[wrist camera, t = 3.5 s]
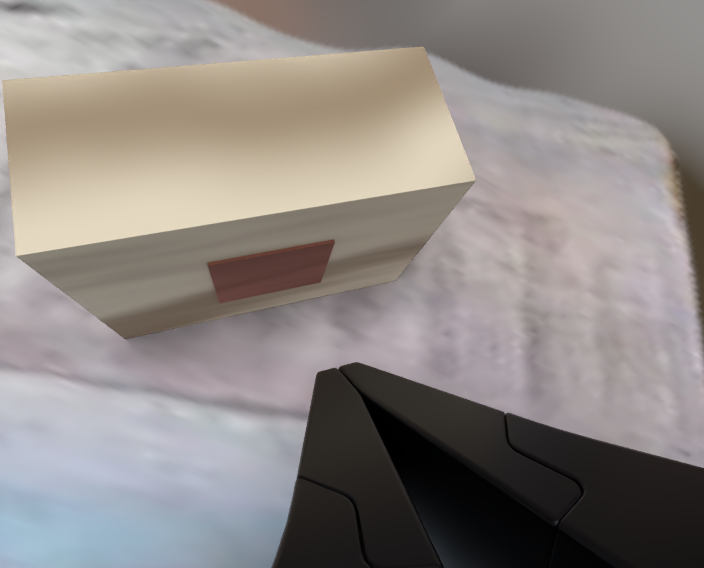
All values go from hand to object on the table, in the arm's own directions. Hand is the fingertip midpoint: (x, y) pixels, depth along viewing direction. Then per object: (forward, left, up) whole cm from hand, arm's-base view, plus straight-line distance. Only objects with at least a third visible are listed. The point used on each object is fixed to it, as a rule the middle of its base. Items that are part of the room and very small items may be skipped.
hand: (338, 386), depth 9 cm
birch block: (+6, -4, -11) cm, 13 cm away
